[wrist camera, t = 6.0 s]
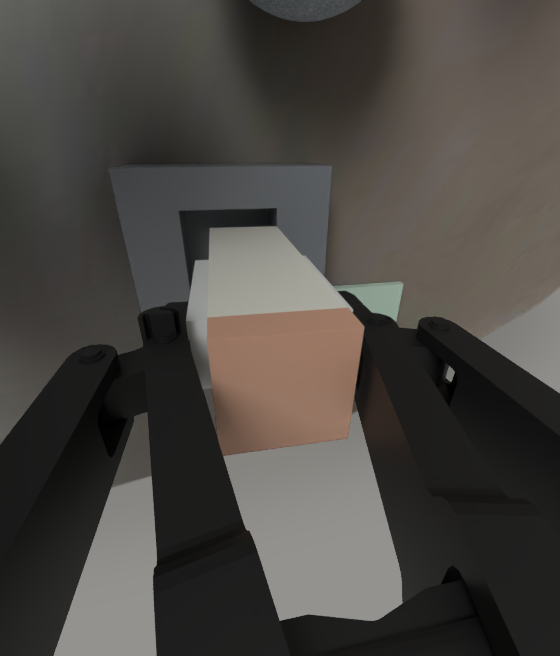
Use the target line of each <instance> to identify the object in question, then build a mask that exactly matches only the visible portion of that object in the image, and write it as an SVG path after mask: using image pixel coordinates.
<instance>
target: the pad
mask: <svg viewBox="0 0 560 656" xmlns="http://www.w3.org/2000/svg"><path fill="white" fill-rule="evenodd" d="M333 287H334V288H335V289H336V291H347V292H349V293H352V294H354V295H355V296H356V297H357V298H358V299H359V301H361V302H362V303H363V305H365V306H366V307H367V308H368V309H369V310H370V311H371V312H372V313H380V314H383V315H387V316H389V317H391V318H392V319H393V320H394V321H395V322H396V320H397V315H398V310H399V305H400V300H401V294H402V289H403V283H401V282H385V283H371V284H356V285H341V286H333Z"/></svg>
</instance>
